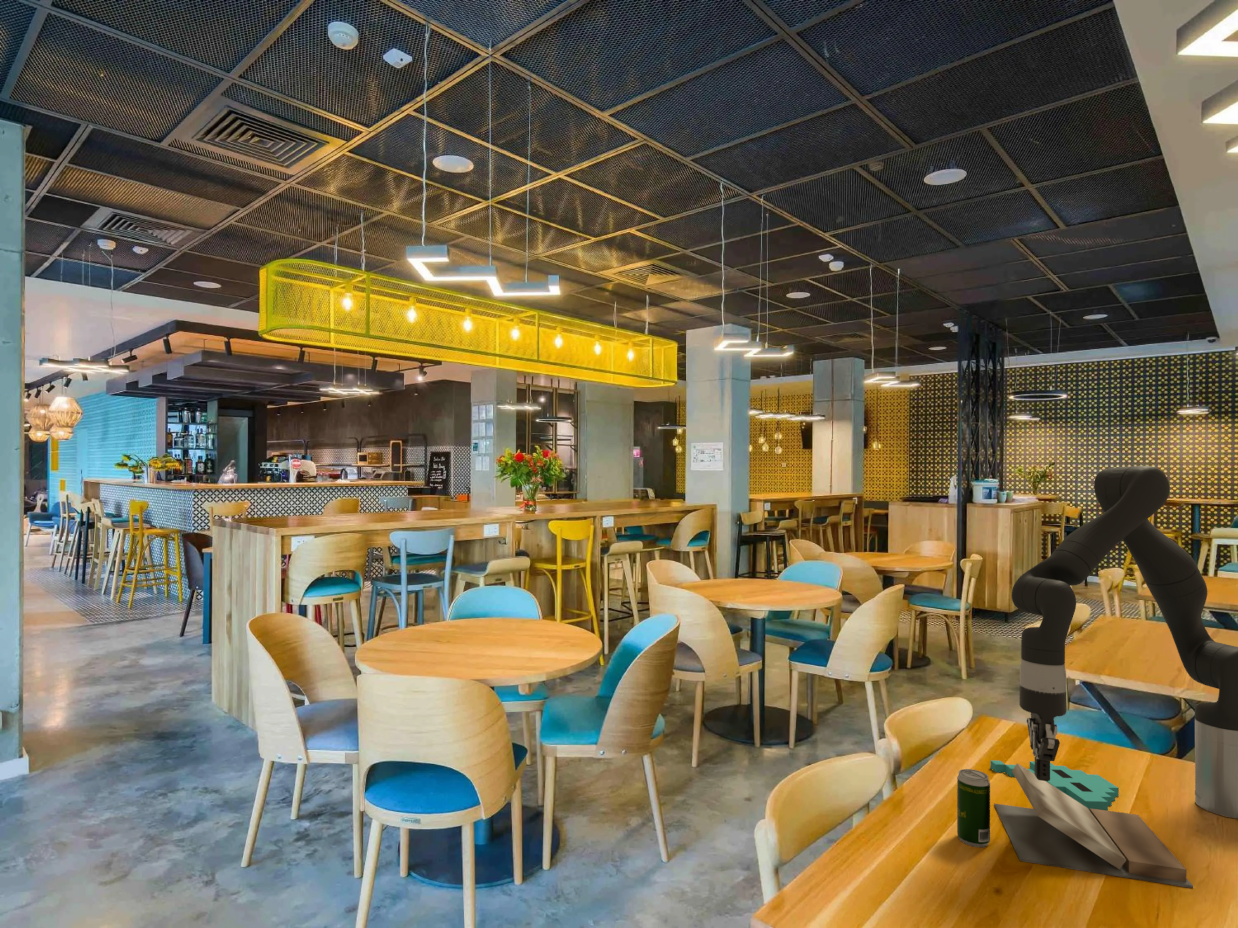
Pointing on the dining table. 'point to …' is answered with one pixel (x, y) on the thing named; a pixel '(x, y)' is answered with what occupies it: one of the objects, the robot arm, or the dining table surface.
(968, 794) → the beer can
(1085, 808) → the beige flat slab
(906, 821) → the dining table surface
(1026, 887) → the dining table surface
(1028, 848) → the floor base
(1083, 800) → the alien figure
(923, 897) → the dining table surface
